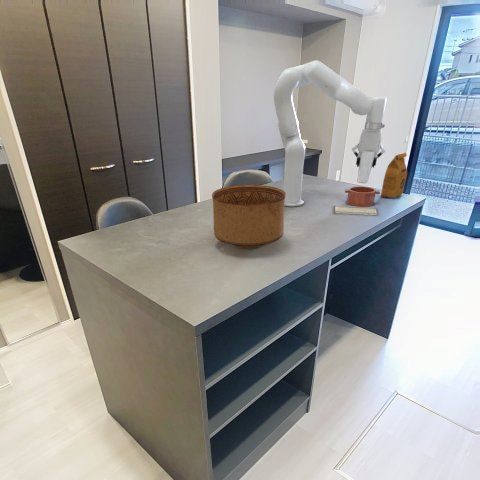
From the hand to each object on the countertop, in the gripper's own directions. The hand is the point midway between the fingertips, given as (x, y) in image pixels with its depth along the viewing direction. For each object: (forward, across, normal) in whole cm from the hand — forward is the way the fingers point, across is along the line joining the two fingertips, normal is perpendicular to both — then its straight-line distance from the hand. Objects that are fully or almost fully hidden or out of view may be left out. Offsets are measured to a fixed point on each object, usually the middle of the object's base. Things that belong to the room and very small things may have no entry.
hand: (365, 166), depth 179 cm
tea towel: (+19, +2, +14) cm, 23 cm away
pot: (+20, +46, +68) cm, 84 cm away
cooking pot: (+18, -1, 0) cm, 18 cm away
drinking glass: (+8, 0, 0) cm, 8 cm away
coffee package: (+18, -19, -17) cm, 31 cm away
